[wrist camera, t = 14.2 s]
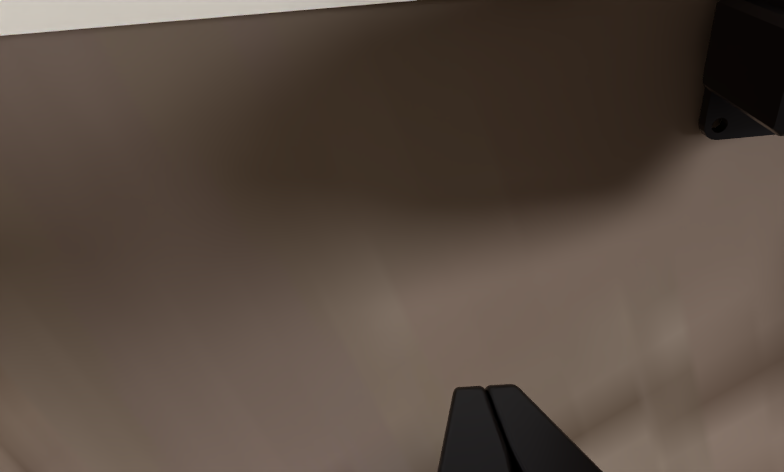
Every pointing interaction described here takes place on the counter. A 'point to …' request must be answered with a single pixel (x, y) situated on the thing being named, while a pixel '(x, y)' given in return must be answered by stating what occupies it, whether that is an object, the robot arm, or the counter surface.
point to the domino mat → (140, 11)
